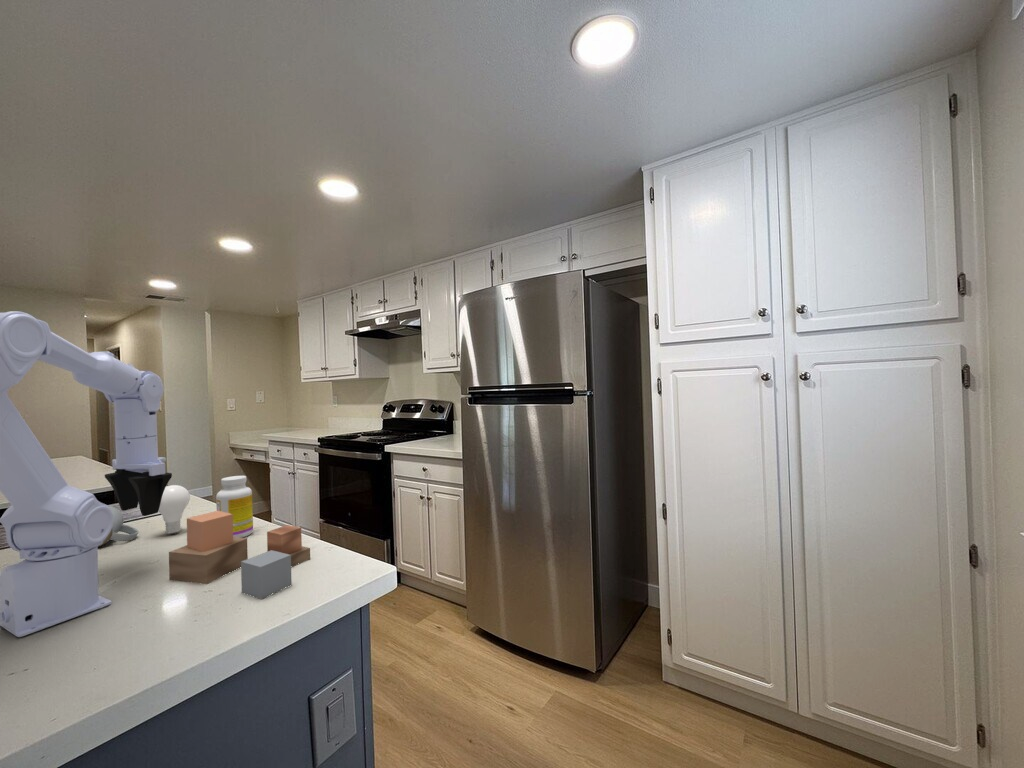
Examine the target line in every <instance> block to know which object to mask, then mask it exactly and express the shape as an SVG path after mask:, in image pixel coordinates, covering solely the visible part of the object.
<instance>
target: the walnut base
mask: <svg viewBox="0 0 1024 768" xmlns="http://www.w3.org/2000/svg"><path fill="white" fill-rule="evenodd" d="M248 553H249V552H248V538H246V537H243V538H237V537H233V542H232V543H228V544H225V545H222V546H219V547H216V548H212V549H209V550H206V551H203V552H201V551H198V550H195V549H192V548H189V547H187V544H186V545H184V546H181V547H178V548H176V549H174V550H171V551H170V550H169V551H168V573H169V575H168V577H169V581H173V582H174V581H175V582H184V583H191V582H192V583H191V584H193V583H194V584H200V583H201V584H202V585H208V584H210V583H212V582H215V581H216V580H218V579H220V578H222V576H223V575H225V574H227V575H229V574H230V573H229V572H231V573H232V571H233V572H234V570H235V571H237V570H238V568H239V569H241V568H240V567H241V561H244V560H247V559H249V558H248V557H249V556H248ZM236 569H237V570H236ZM228 573H229V574H228ZM225 576H226V575H225ZM223 577H224V576H223Z"/></svg>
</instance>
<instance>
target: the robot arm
mask: <svg viewBox="0 0 1024 768" xmlns="http://www.w3.org/2000/svg"><path fill="white" fill-rule="evenodd" d="M114 355H115V354H114V353H112V352H110V351H93V352H88V351H86V350H84V349H82V348H81V347H79V346H77V345H75V344H74V343H72V342H70V341H69V340H67V339H65V338H63V337H62V336H60V335H58V334H56V333H54V332H53V331H51V328H50V325H49V323H48V322H47V321H44V320H41V319H38V318H36V317H34V316H33V315H32V314H29V313H27V312H23V311H18V310H15V311H11V310H10V311H6V312H0V492H1V493H2V495H3V496H4V498H5V499H6V500H7V501H8V503H9V504H11V505H9V507H7V508H6V510H5V511H4V512H3V514H2V516H1V517H0V524H1V525H2V526H3V529H4V530H5V536H6V541H7V545H8V546H9V548H11V549H12V550H13V551H15V552H19V559H21V561H19V562H17V563H14V564H11V565H7V566H5V567H3V568H2V569H1V571H0V626H1V628H3V629H5V630H6V631H8V632H9V633H11V634H13V635H14V636H15V637H17V638H21V637H24V636H27V635H30V634H33V633H35V632H38V631H41V630H44V629H47V628H49V627H53V626H55V625H57V624H60V623H63V622H65V621H68V620H69V621H70V620H71V619H74V618H76V617H80V616H82V615H85V614H88V613H91V612H93V611H97V610H98V609H101V608H102V609H103V607H108V606H110V605H111V604H112V600H111V599H109V598H107V597H104V596H101V595H100V594H99V593H100V591H99V589H100V588H99V556H98V555H99V552H98V548H99V547H98V546H99V545H101V544H103V541H104V540H105V539H106V537H107V536H108V535H109V533H110V531H111V529H112V526H113V514H112V511H111V509H110V508H109V507H108V506H109V505H107V503H106V504H105V503H103V502H101V501H99V500H98V499H97V497H96V496H95V494H93V493H91V492H89V491H86V490H84V489H80V488H79V487H78V488H77V487H74V486H72V485H69V484H68V482H67V481H66V479H65V478H64V477H63V475H62V474H61V472H60V471H59V469H58V468H57V466H56V465H55V463H54V462H53V460H52V459H51V457H50V456H49V455H48V453H47V451H46V450H45V449H44V448H43V446H42V444H41V443H40V441H39V440H38V439H37V436H36V435H35V434H34V433H33V431H32V429H31V428H30V427H29V425H28V424H27V422H26V421H25V419H24V417H22V414H21V413H20V412H19V410H18V409H17V407H16V406H15V404H14V403H13V401H12V400H11V398H10V397H9V396H8V391H9V390H10V388H11V387H14V386H16V385H18V384H19V383H20V382H22V380H23V378H24V377H25V376H26V375H27V373H28V372H29V371H30V370H31V369H32V367H33V366H34V365H35V364H36V362H37V361H40V362H42V363H45V364H48V365H51V366H54V367H57V368H60V369H63V370H65V371H68V372H71V374H72V378H73V379H74V380H75V381H76V382H77V383H79V384H80V385H82V386H86V387H88V388H91V389H93V390H96V391H98V392H101V393H103V394H104V397H105V398H106V400H107V401H109V403H113V411H114V412H113V415H114V416H113V417H114V438H115V439H114V441H115V442H114V443H115V458H114V459H112V461H111V463H112V464H111V465H112V470H113V471H114V472H112V473H106V474H104V478H105V479H106V480H107V482H108V483H109V484H110V486H111V487H112V489H113V491H114V493H115V496H116V499H117V502H118V505H119V508H120V510H121V511H123V512H124V511H128V510H133V509H137V508H138V506H139V511H140V513H141V514H140V515H141V516H143V517H147V516H151V515H154V514H158V513H159V511H158V510H159V507H160V503H161V499H162V495H163V492H164V490H165V487H167V485H168V483H169V482H170V481H171V479H172V477H173V473H172V472H166V463H165V462H166V460H167V459H166V457H163V456H159V449H158V448H159V447H158V445H159V444H158V443H159V442H158V423H157V422H158V419H157V418H158V417H157V416H158V415H157V412H158V411H159V410H160V408H161V399H162V397H163V395H164V392H165V391H164V390H165V385H163V381H162V378H161V377H160V376H159V375H158V374H157V373H154V372H153V371H151V370H139V369H138V368H136V367H135V366H134V365H133V364H131V363H126V362H124V361H122V360H120V359H118V358H116V357H114Z"/></svg>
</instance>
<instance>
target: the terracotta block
mask: <svg viewBox="0 0 1024 768" xmlns="http://www.w3.org/2000/svg"><path fill="white" fill-rule="evenodd" d="M232 542H233V514H230V513H226V512H221V511H217V510H215V511H212V512H208V513H207V512H206V513H203V514H199V515H198V514H197V515H195V516H190V517H187V518H186V545H187V547H189V548H192V549H195V550H198V551H201V552H203V551H206V550H209V549H212V548H216V547H219V546H222V545H225V544H228V543H232Z"/></svg>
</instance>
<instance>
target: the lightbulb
mask: <svg viewBox="0 0 1024 768" xmlns="http://www.w3.org/2000/svg"><path fill="white" fill-rule="evenodd" d="M190 500H191V494H190V492H189V490H188V489H187V488H186V487H184V486H182V485H179V484H171V485H168V486H167V485H166V487H165V490H164V492H163V495H162V499H161V503H160V507H159V510H158V513H160V514H161V516H162V519H163V521H164V525H165V526H164V527H165V531H164V532H165V533H166V534H168V535H175V534H177V533H179V532H180V531H181V519H182V517H183V513H184V510H185V509H186V508H187V507H188V506H189V504H190V503H189V502H190Z"/></svg>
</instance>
